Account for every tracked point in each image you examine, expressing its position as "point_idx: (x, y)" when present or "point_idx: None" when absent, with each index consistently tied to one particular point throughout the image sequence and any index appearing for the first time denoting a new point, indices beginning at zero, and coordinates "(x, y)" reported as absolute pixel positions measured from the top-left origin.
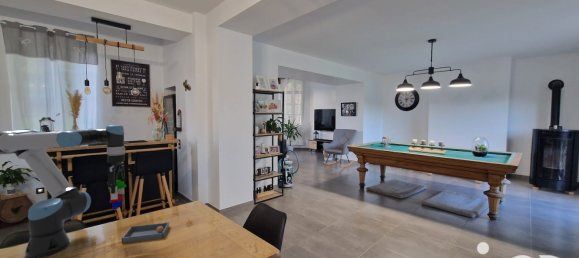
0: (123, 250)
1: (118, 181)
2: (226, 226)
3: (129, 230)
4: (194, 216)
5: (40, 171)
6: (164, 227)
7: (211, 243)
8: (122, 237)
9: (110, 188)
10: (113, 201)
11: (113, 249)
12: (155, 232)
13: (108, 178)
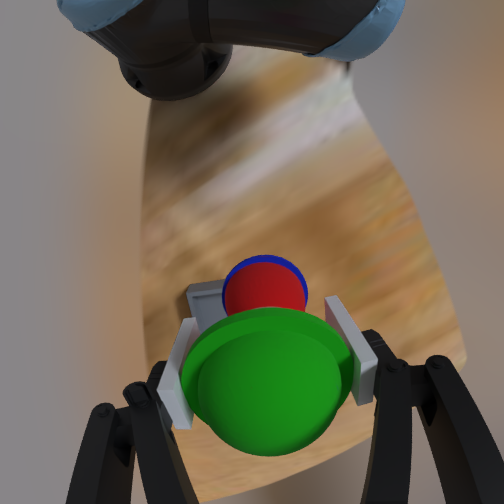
0: (152, 309)
1: (251, 452)
2: (275, 472)
3: None
4: (362, 408)
5: None
6: None
7: (196, 462)
8: (190, 293)
9: (160, 380)
10: (224, 302)
11: (157, 275)
12: None
13: (72, 480)
